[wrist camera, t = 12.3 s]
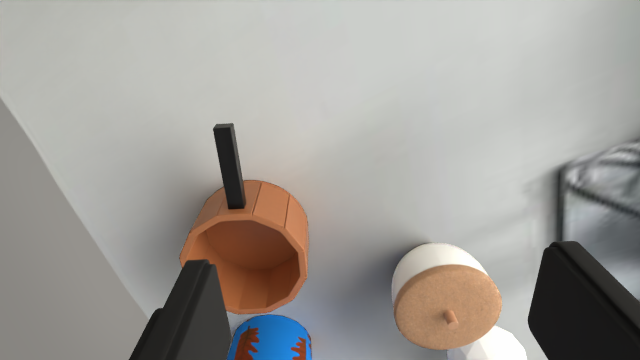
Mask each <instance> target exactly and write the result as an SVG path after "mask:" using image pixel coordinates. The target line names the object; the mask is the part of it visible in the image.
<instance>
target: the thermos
mask: <svg viewBox="0 0 640 360" xmlns="http://www.w3.org/2000/svg"><path fill="white" fill-rule="evenodd" d="M227 360H312V356H311V338H310V336H309V334H308V333H307V331H306V329H305V328H304V327H302V326H301V325H300V324H299V323H298V322H296V321H294V320H292V319H289V318H287V317H284V316H277V315H263V316H256V317H254V318H252V319H249V320H247V321H245V322H244V323H243V324H242V325H241V326H240V327H239V328H238V329H237V330H236V332H235V335H234V338H233V341H232V344H231V347H230V350H229V354H228V357H227Z"/></svg>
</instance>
